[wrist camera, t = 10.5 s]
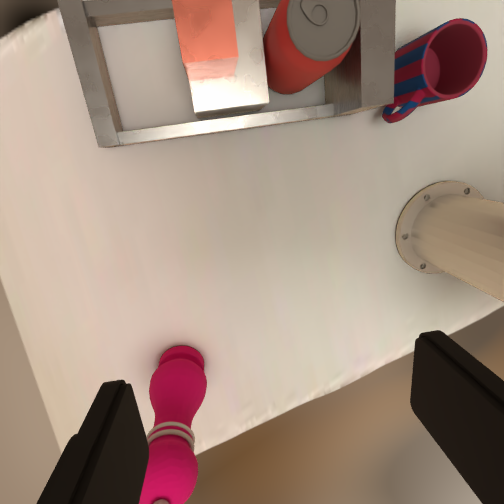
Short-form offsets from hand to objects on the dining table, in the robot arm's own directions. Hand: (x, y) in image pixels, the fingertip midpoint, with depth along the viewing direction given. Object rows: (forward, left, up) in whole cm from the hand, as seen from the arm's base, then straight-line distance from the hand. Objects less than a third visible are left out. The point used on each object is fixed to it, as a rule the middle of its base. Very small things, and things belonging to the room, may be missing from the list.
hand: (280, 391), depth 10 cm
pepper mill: (+10, +20, -30) cm, 37 cm away
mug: (-22, -12, -30) cm, 39 cm away
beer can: (-9, -16, -30) cm, 35 cm away
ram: (-2, -16, -29) cm, 33 cm away
